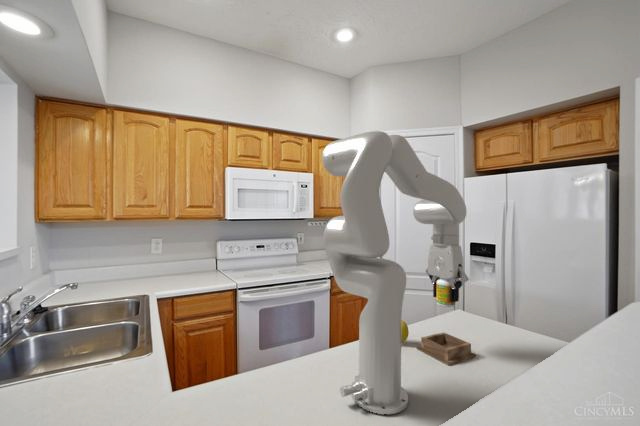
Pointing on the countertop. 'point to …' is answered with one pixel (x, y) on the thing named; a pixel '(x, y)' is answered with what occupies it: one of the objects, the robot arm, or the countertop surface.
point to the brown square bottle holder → (446, 348)
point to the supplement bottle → (443, 293)
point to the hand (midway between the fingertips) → (445, 298)
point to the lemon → (404, 331)
